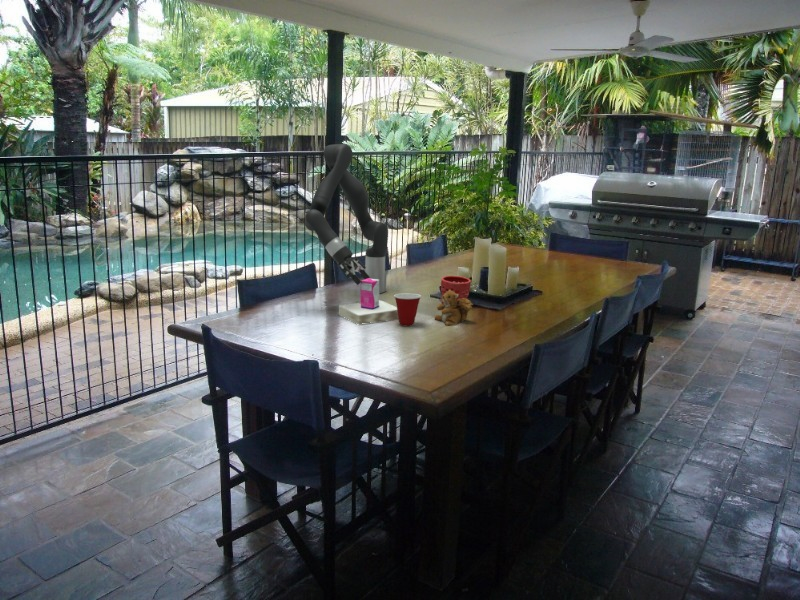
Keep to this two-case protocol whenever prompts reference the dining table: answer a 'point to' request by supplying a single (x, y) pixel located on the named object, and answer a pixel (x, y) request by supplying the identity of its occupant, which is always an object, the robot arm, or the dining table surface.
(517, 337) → the dining table surface
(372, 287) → the supplement box
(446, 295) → the stuffed squirrel
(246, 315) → the dining table surface
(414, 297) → the plastic cup
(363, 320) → the slab
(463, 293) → the plant pot
